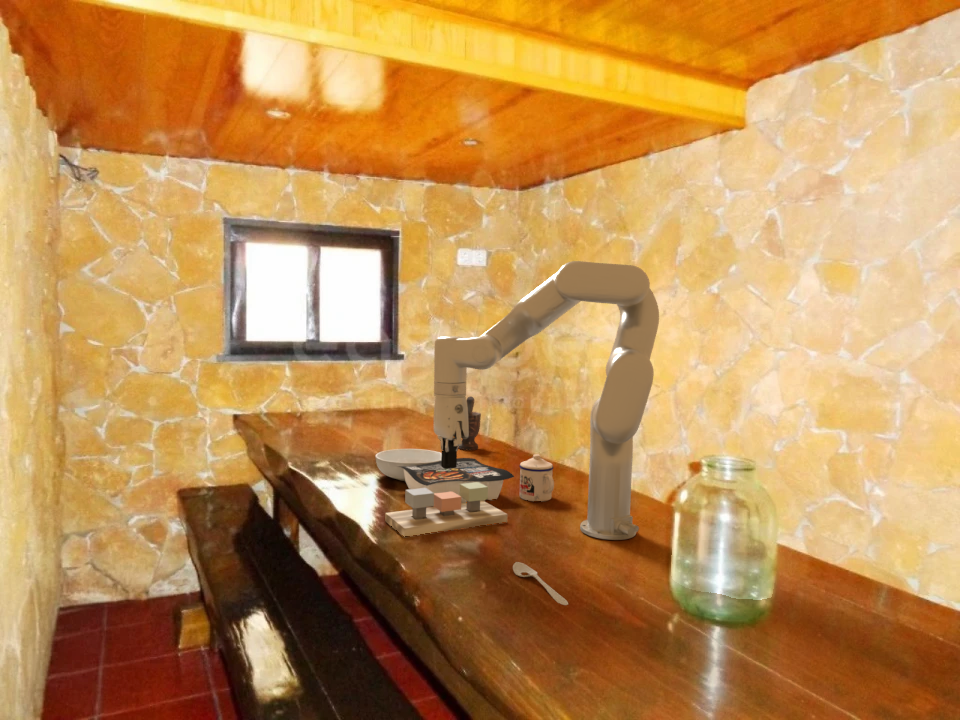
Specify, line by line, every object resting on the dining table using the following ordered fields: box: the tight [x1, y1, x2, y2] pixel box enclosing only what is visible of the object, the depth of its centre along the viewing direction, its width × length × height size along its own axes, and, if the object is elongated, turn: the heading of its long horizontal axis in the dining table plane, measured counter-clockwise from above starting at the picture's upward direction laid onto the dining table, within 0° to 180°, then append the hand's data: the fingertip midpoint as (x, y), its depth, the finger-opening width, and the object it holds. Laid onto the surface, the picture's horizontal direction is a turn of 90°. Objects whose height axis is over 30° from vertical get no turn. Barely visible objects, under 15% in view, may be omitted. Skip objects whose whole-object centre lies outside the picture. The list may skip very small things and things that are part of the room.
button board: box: [384, 500, 508, 538], centre depth 154 cm, size 12×26×2 cm, turn 118°
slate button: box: [404, 488, 434, 518], centre depth 150 cm, size 5×5×6 cm
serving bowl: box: [374, 448, 442, 482], centre depth 194 cm, size 21×21×7 cm
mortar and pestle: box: [458, 396, 482, 451], centre depth 237 cm, size 12×9×20 cm
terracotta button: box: [432, 492, 462, 516], centre depth 154 cm, size 5×5×6 cm
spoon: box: [512, 561, 569, 606], centre depth 118 cm, size 4×21×2 cm, turn 26°
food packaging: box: [398, 457, 515, 504], centre depth 177 cm, size 25×8×23 cm
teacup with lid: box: [519, 453, 555, 502], centre depth 175 cm, size 12×9×12 cm
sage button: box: [460, 482, 488, 511], centre depth 157 cm, size 5×5×6 cm
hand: (448, 467), depth 153 cm, fingers closed
